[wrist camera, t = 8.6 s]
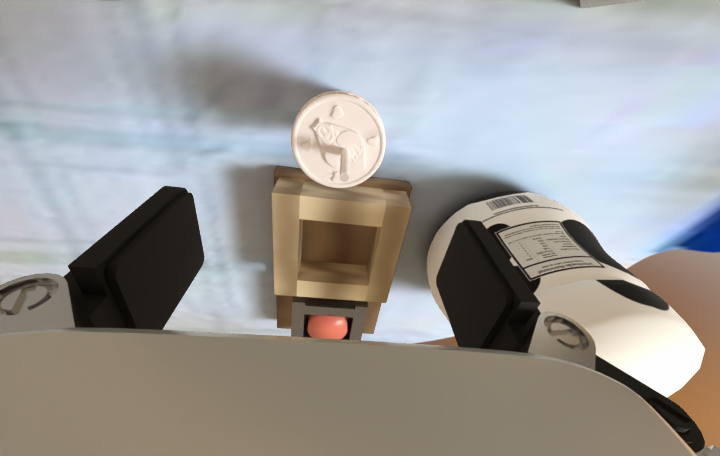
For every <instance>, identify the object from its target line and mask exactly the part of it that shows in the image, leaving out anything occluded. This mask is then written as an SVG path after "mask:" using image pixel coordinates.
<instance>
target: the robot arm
mask: <svg viewBox="0 0 720 456" xmlns="http://www.w3.org/2000/svg"><path fill="white" fill-rule="evenodd" d="M104 1H116V0H104ZM203 262H204V252H203V247H202V242H201V236H200V231H199V225H198V220H197V215H196V209H195V204H194V198H193V195H192V194H191V193H188V192H187V190H186V189H185V188H180V187H171V186H164V187H162V188H161V189H160V190H159V191H158V192H156V193H155V194H154V195H153V196H152V197H150V198H149V199H148V200H147V201H145V202H144V203H143V204H142V205H141V206H139V207H138V208H137V209H136V210H135V211H133V212H132V213H131V214H130V215H129V216H127V217H126V218H125V219H124V220H123V221H121V222H120V223H119V224H118V225H117V226H115V227H114V228H113V229H112V230H110V231H109V232H108V233H107V234H106V235H104V236H103V237H102V238H101V239H100V240H98V241H97V242H96V243H95V244H94V245H92V246H91V247H90V248H89V249H88V250H86V251H85V252H84V253H83V254H82V255H80V256H79V257H78V258H77V259H75V260H74V261H73V262H72V263H71V264H69V265H68V267H69V269H70V272H69V273H67V274H66V275H65V276H64V277H62V276H60V275H57V274H49V273H46V274H34V275H29V276H24V277H21V278H18V279H15V280H12V281H9V282H6V283H4V284H2V285H0V456H720V449H719V448H717V447H716V446H715V445H712V446H711V447H709V448H708V447H707V446H706V445H705V441H704V438H703V436H702V433H701V431H700V430H699V428H698V427H697V425H696V424H695V422H694V421H693V420H692V419H691V418H690V417H689V416H688V415H687V413H686V412H685V411H684V410H683V409H682V408H681V407H680V406H679V405H677V404H676V403H674V402H673V401H671V400H669V399H668V398H667V397H665V396H664V395H662V394H660V393H659V392H657V391H655V390H654V389H652V388H650V387H649V386H647V385H645V384H644V383H642V382H640V381H639V380H637V379H635V378H634V377H632V376H630V375H629V374H627V373H625V372H624V371H622V370H620V369H619V368H617V367H615V366H614V365H612V364H610V363H609V362H607V361H605V360H604V359H602V358H600V357H599V356H597V355H596V346H595V342H594V340H593V338H592V337H591V335H590V334H589V333H588V332H587V331H586V329H585V328H583V327H582V326H581V325H580V324H579V323H577V322H576V321H574V320H572V319H571V318H569V317H567V316H565V315H563V314H560V313H556V312H543V313H541V312H540V311H539V309H538V306H539V305H540V304H541V303H540V302H539V300H538V299H537V297H536V296H535V295H534V293H533V292H532V291H531V289H530V288H529V286H528V285H527V284H526V282H525V281H524V280H523V278H522V277H521V275H520V274H519V273H518V271H517V270H516V268H515V267H514V266H513V264H512V263H511V262H510V260H509V259H508V257H507V256H506V255H505V253H504V252H503V251H502V249H501V248H500V246H499V245H498V244H497V242H496V241H495V240H494V238H493V237H492V235H491V234H490V233H489V231H488V230H487V229H486V227H485V226H484V224H483V223H482V222H481V221H476V220H467V219H465V220H463V221H462V223H458V224H457V226H456V228H455V231H454V233H453V236H452V238H451V241H450V244H449V246H448V249H447V251H446V254H445V256H444V259H443V261H442V264H441V266H440V269H439V271H438V274H437V277H436V285H437V288H438V291H439V293H440V296H441V299H442V302H443V305H444V307H445V310H446V313H447V316H448V318H449V321H450V324H451V327H452V329H453V332H454V335H455V338H456V341H457V343H458V346H459V347H453V346H436V345H421V344H406V343H390V342H375V341H358V340H341V339H324V338H307V337H289V336H272V335H253V334H234V333H215V332H196V331H177V330H162V329H163V328H164V326H165V324H166V323H167V321H168V320H169V318H170V316H171V315H172V313H173V312H174V310H175V308H176V307H177V305H178V304H179V302H180V300H181V299H182V297H183V296H184V294H185V292H186V291H187V289H188V288H189V286H190V284H191V283H192V281H193V280H194V278H195V276H196V275H197V273H198V272H199V270H200V268H201V267H202V265H203Z"/></svg>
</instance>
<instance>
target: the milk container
mask: <svg viewBox="0 0 720 456" xmlns="http://www.w3.org/2000/svg"><path fill="white" fill-rule="evenodd" d="M465 219H467V220H476V221H481V222H482V223H483V224H484V226H485V227H486V229H487V230H488V231H489V233H490V234H491V235H492V237H493V238H494V240H495V241H496V242H497V244H498V245H499V246H500V248H501V249H502V251H503V252H504V253H505V255H506V256H507V257H508V259H509V260H510V262H511V263H512V264H513V266H514V267H515V268H516V270H517V271H518V273H519V274H520V275H521V277H522V278H523V280H524V281H525V282H526V284H527V285H528V286H529V288H530V289H531V291H532V292H533V293H534V295H535V296H536V297H537V299H538V300H539V302H540V303H541V304H540V305H539V306H538V309H539V311H540V312H541V313H543V312H556V313H560V314H563V315H565V316H567V317H569V318H571V319H572V320H574V321H576V322H577V323H579V324H580V325H581V326H582V327H583V328H585V329H586V331H587V332H588V333H589V334H590V335H591V337H592V338H593V340H594V342H595V346H596V355H597V356H599V357H600V358H602V359H604V360H605V361H607V362H609V363H610V364H612V365H614V366H615V367H617V368H619V369H620V370H622V371H624V372H625V373H627V374H629V375H630V376H632V377H634V378H635V379H637V380H639V381H640V382H642V383H644V384H645V385H647V386H649V387H650V388H652V389H654V390H655V391H657V392H659V393H660V394H662V395H664V396H665V397H668V396H670V395H671V394H673V393H674V392H676V391H677V390H679V389H680V388H682V387H683V386H684V385H685V384H686V382H688V380H689V379H690V378H691V377H692V376H693V375H694V374H695V373H696V372H697V371H698V370H699V368H700V365H701V361H702V358H703V355H704V351H705V349H704V347H703V345H702V344H701V342H700V341H699V339H698V338H697V336H696V335H695V333H694V332H693V331H692V330H691V328H690V327H689V326H688V325H687V323H686V322H685V321H684V320H683V319H682V318H681V317H680V316H679V315H678V314H677V313H676V312H675V311H674V310H673V309H672V308H671V307H670V306H669V305H668V304H667V303H666V302H665V301H664V300H662V299H661V298H660V297H659V296H657V295H656V294H654V293H653V292H652V291H650V289H649V288H648V287H647V286H646V285H645V284H644V283H643V282H642V281H641V280H639V279H638V278H637V277H636V276H634V275H633V274H632V273H630V272H629V271H628V270H627V269H625V268H624V267H623V266H621V265H620V264H619V263H617V262H616V261H615V260H614V259H612V258H611V257H610V256H609V255H608V254H607V253H606V252H605V251H604V250H603V248H602V247H601V245H600V244H599V242H598V240H597V239H596V237H595V235H594V234H593V232H592V231H591V229H590V228H589V227H588V225H587V224H586V223H585V222H584V221H583V220H582V219H581V218H580V217H579V216H578V215H577V214H576V213H574V212H573V211H571V210H570V209H569V208H567V207H566V206H564V205H562V204H560V203H558V202H556V201H554V200H552V199H550V198H547V197H545V196H542V195H539V194H535V193H530V192H501V193H497V194H493V195H489V196H486V197H482V198H480V199H477V200H475V201H473V202H471V203H469V204H468V205H466V206H464V207H463V208H461V209H459V210H458V211H456V212H455V213H454V214H453V215H452V216H450V217H449V218H448V220H447V221H446V222H445V223H444V224H443V225H442V226H441V227H440V228H439V230H438V231H437V233H436V235H435V236H434V239H433V241H432V243H431V245H430V248H429V251H428V255H427V276H428V281H429V286H430V289H431V293H432V295H433V297H434V299H435V301H436V303H437V305H438V306H439V308H440V309H441V311H442V312H443V314H444V315H445V316H446V318H447V319H448V320H449V318H448V316H447V313H446V310H445V307H444V305H443V302H442V299H441V296H440V293H439V291H438V288H437V285H436V277H437V274H438V271H439V269H440V266H441V264H442V261H443V259H444V256H445V254H446V251H447V249H448V246H449V244H450V241H451V238H452V236H453V233H454V231H455V228H456V226H457V224H458V223H462V221H463V220H465ZM449 322H450V321H449Z"/></svg>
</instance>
